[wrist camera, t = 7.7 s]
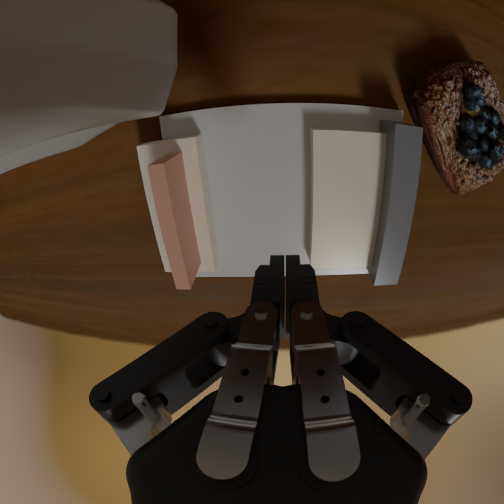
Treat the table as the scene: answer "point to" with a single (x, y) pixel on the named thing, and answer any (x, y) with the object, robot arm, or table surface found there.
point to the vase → (80, 71)
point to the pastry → (460, 122)
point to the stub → (179, 206)
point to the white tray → (307, 185)
